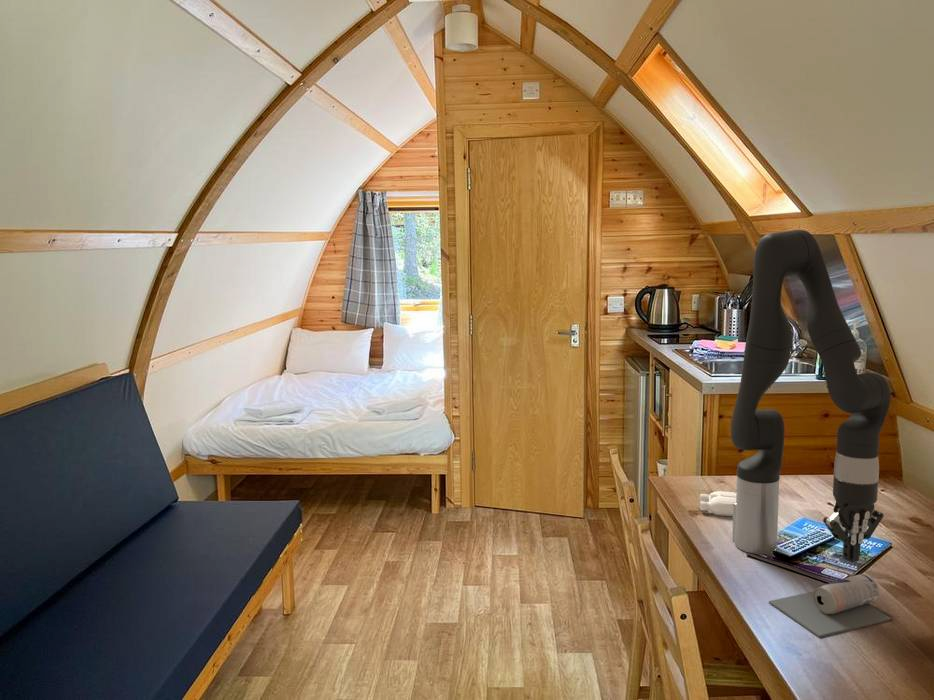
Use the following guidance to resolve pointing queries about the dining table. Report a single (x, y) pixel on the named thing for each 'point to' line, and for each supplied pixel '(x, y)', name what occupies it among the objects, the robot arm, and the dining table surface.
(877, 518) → the robot arm
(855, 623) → the rubber mat
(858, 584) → the energy drink
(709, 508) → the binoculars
